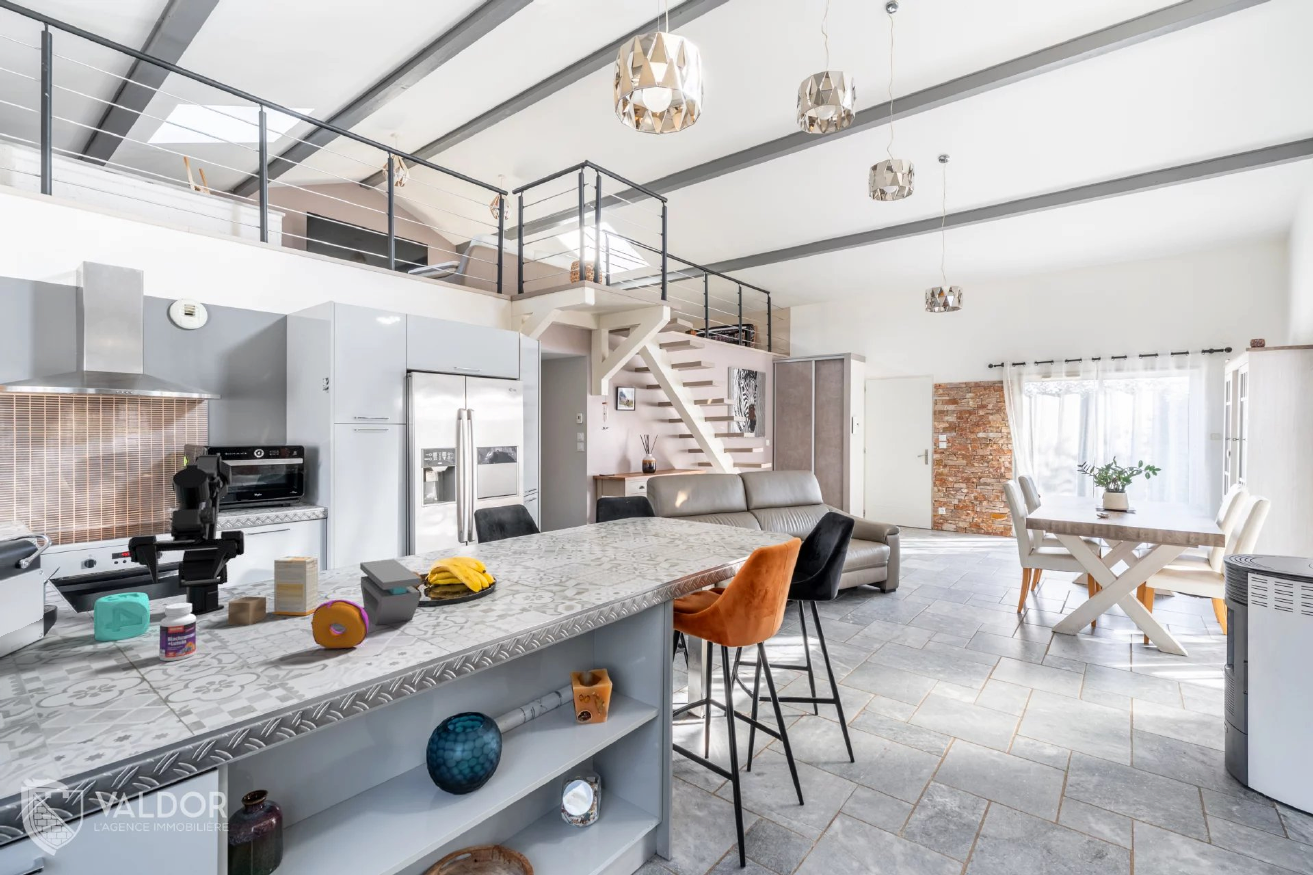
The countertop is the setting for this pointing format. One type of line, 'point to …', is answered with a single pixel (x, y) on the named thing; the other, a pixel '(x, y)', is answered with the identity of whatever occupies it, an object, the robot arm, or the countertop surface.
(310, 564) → the supplement box
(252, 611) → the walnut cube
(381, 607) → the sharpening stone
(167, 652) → the pill bottle
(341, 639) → the donut
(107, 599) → the decorative dice
